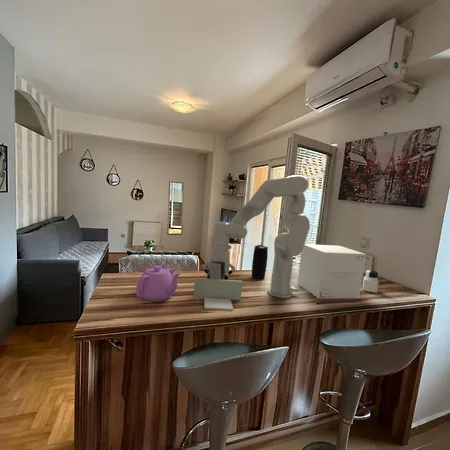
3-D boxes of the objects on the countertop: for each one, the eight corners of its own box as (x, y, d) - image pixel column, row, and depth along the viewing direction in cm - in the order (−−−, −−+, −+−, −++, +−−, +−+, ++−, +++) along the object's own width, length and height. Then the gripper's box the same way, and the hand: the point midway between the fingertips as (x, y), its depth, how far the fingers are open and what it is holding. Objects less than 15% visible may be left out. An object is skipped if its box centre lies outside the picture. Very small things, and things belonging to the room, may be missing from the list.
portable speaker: (251, 279, 156) (255, 246, 154) (250, 274, 165) (253, 244, 163) (266, 280, 156) (269, 248, 154) (264, 275, 165) (267, 245, 163)
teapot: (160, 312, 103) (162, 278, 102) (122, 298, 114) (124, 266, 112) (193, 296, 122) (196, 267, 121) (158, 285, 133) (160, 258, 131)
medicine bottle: (375, 290, 157) (378, 270, 155) (376, 294, 150) (380, 273, 149) (362, 287, 160) (365, 268, 158) (362, 291, 153) (365, 271, 152)
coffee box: (220, 297, 124) (223, 264, 123) (207, 295, 126) (210, 262, 124) (224, 290, 133) (227, 259, 131) (212, 288, 134) (215, 257, 133)
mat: (230, 301, 121) (230, 299, 121) (232, 310, 111) (233, 308, 111) (204, 299, 120) (204, 297, 120) (204, 309, 110) (204, 307, 110)
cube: (317, 299, 135) (324, 252, 132) (297, 284, 156) (302, 243, 153) (359, 298, 141) (366, 254, 138) (334, 285, 162) (339, 245, 159)
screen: (240, 299, 124) (242, 280, 123) (240, 300, 123) (242, 281, 122) (193, 296, 122) (194, 277, 121) (193, 297, 121) (194, 278, 120)
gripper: (237, 247, 131) (233, 281, 133) (202, 244, 130) (199, 279, 132) (239, 250, 124) (235, 286, 126) (202, 247, 122) (199, 284, 124)
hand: (217, 282), depth 129 cm, fingers closed on coffee box, 7 cm apart
